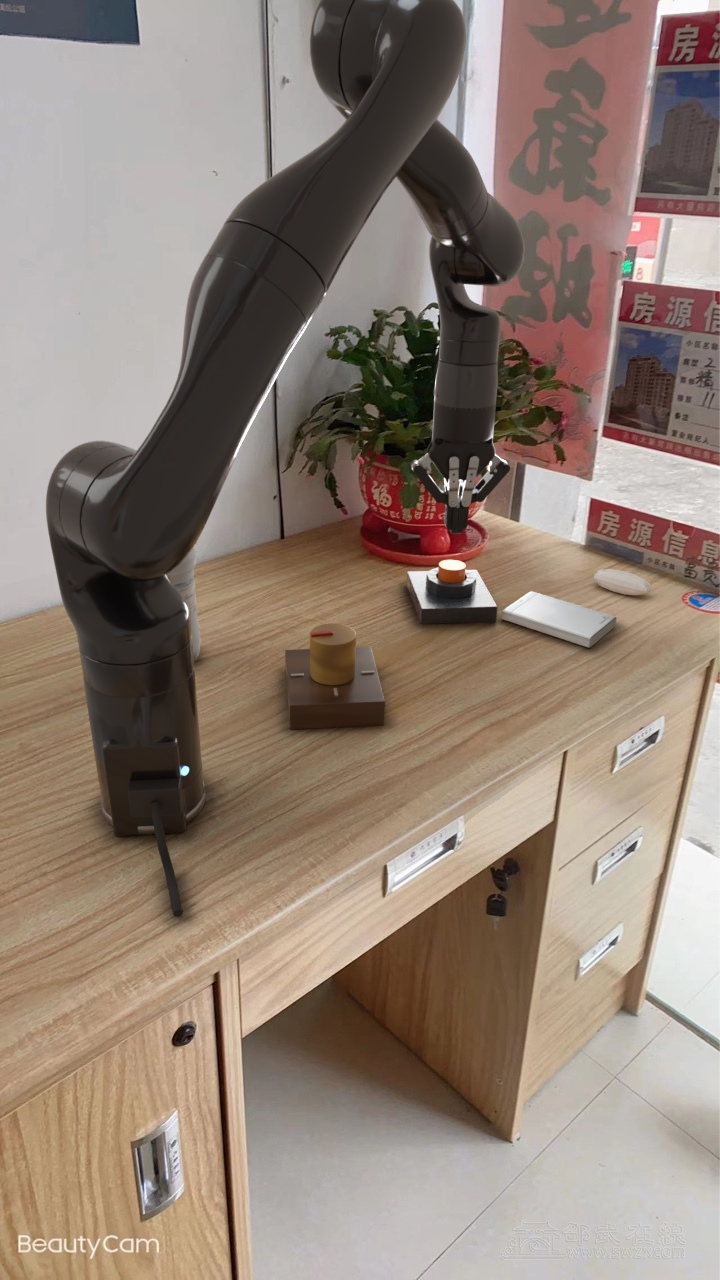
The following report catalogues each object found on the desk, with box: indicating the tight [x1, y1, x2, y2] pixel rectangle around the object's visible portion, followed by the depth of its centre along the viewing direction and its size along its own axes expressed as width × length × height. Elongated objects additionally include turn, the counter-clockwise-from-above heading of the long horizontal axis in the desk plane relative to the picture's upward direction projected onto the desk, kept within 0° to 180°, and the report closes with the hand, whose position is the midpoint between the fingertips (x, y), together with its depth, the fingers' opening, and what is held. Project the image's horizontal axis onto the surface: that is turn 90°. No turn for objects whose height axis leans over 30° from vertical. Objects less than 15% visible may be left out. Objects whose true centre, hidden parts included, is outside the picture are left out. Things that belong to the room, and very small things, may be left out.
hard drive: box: [501, 590, 617, 648], centre depth 115 cm, size 2×8×12 cm
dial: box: [309, 623, 357, 685], centre depth 96 cm, size 5×5×5 cm
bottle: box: [167, 546, 202, 662], centre depth 101 cm, size 7×7×20 cm
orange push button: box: [438, 559, 467, 583], centre depth 118 cm, size 4×4×2 cm
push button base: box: [405, 566, 498, 625], centre depth 120 cm, size 12×10×4 cm
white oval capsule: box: [592, 568, 652, 596], centre depth 124 cm, size 3×8×3 cm, turn 54°
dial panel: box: [284, 646, 386, 730], centre depth 98 cm, size 12×10×3 cm
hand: (455, 531), depth 116 cm, fingers closed
